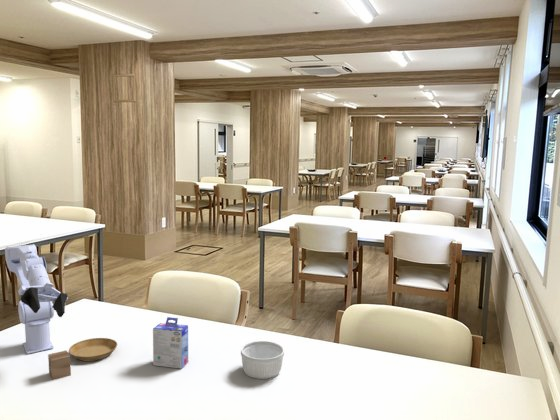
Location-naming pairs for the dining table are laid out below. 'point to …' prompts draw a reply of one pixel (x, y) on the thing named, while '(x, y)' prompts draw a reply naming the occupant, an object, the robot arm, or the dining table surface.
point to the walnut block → (59, 365)
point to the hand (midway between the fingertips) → (49, 312)
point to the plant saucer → (93, 349)
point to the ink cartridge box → (170, 344)
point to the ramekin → (262, 359)
